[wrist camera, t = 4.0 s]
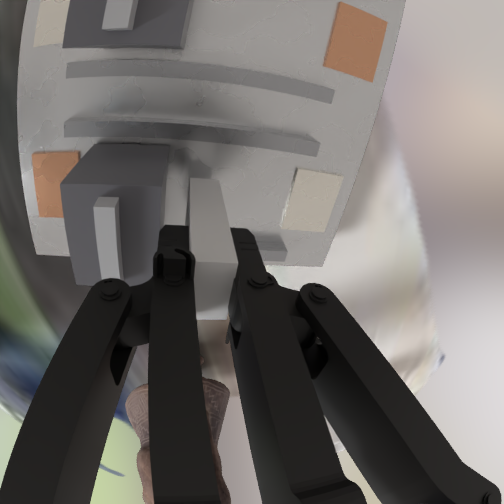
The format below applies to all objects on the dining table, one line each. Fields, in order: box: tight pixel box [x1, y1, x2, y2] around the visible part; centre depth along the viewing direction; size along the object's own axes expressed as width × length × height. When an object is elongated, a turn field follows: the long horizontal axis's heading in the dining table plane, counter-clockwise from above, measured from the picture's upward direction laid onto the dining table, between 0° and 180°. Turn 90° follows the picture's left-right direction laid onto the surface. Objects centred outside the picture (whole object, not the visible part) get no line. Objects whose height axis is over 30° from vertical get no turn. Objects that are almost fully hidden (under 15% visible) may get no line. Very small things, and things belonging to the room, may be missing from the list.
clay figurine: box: [125, 356, 231, 504], centre depth 21 cm, size 13×10×25 cm
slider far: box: [60, 144, 170, 286], centre depth 13 cm, size 4×5×6 cm
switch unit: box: [17, 0, 405, 267], centre depth 14 cm, size 20×20×4 cm
